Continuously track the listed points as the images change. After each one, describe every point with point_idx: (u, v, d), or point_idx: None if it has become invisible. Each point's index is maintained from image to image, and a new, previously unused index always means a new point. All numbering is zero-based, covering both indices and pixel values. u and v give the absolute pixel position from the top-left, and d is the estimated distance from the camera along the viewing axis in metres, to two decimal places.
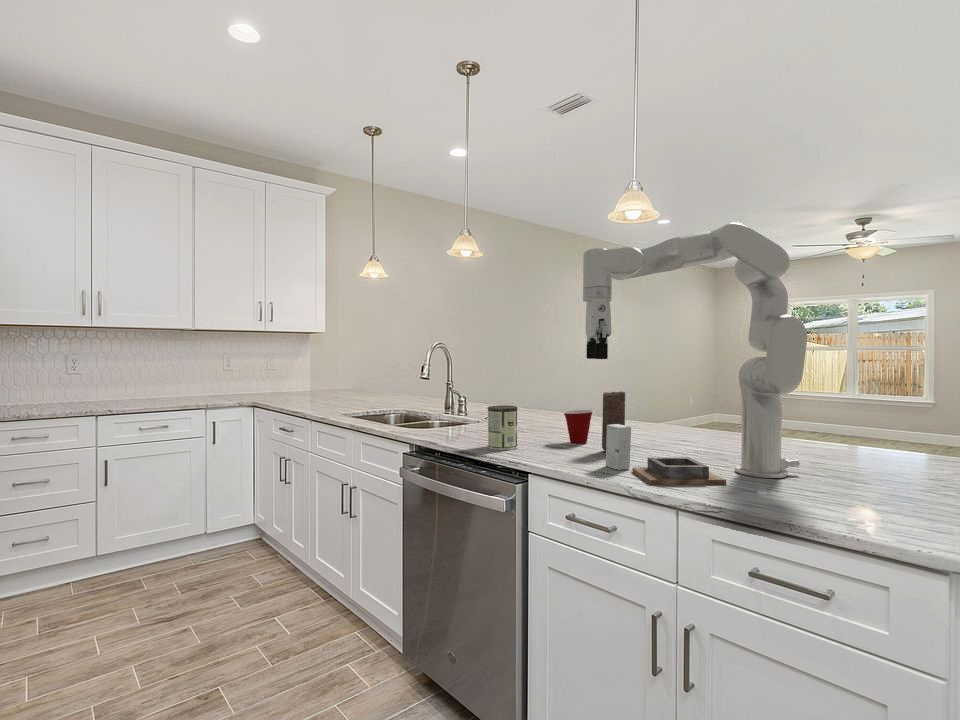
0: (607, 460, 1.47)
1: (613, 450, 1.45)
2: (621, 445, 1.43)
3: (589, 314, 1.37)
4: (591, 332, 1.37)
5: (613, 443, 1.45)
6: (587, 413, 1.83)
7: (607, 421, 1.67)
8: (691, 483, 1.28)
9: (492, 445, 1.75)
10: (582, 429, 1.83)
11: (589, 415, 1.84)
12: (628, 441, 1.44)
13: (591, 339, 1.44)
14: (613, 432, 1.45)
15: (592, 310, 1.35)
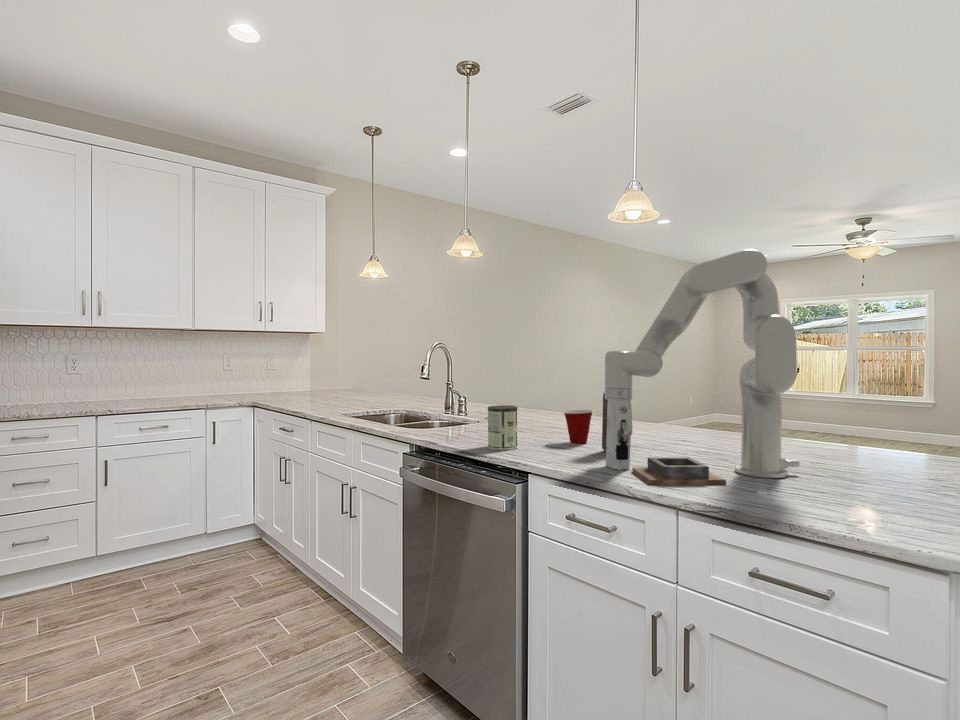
0: (607, 460, 1.47)
1: (613, 450, 1.45)
2: None
3: (611, 413, 1.45)
4: (613, 430, 1.44)
5: (613, 443, 1.45)
6: (587, 413, 1.83)
7: None
8: (691, 483, 1.28)
9: (492, 445, 1.75)
10: (582, 429, 1.83)
11: (589, 415, 1.84)
12: (628, 441, 1.44)
13: None
14: None
15: (614, 411, 1.42)
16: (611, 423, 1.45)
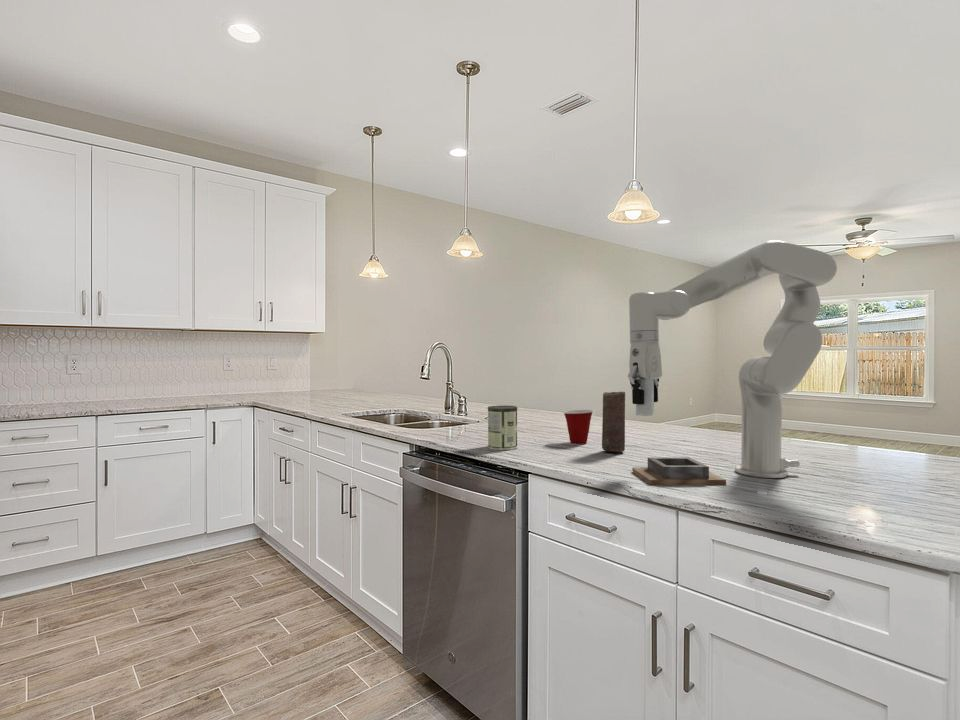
0: None
1: None
2: None
3: None
4: None
5: None
6: (587, 413, 1.83)
7: (607, 421, 1.67)
8: (691, 483, 1.28)
9: (492, 445, 1.75)
10: (582, 429, 1.83)
11: (589, 415, 1.84)
12: (648, 386, 1.38)
13: None
14: None
15: None
16: None
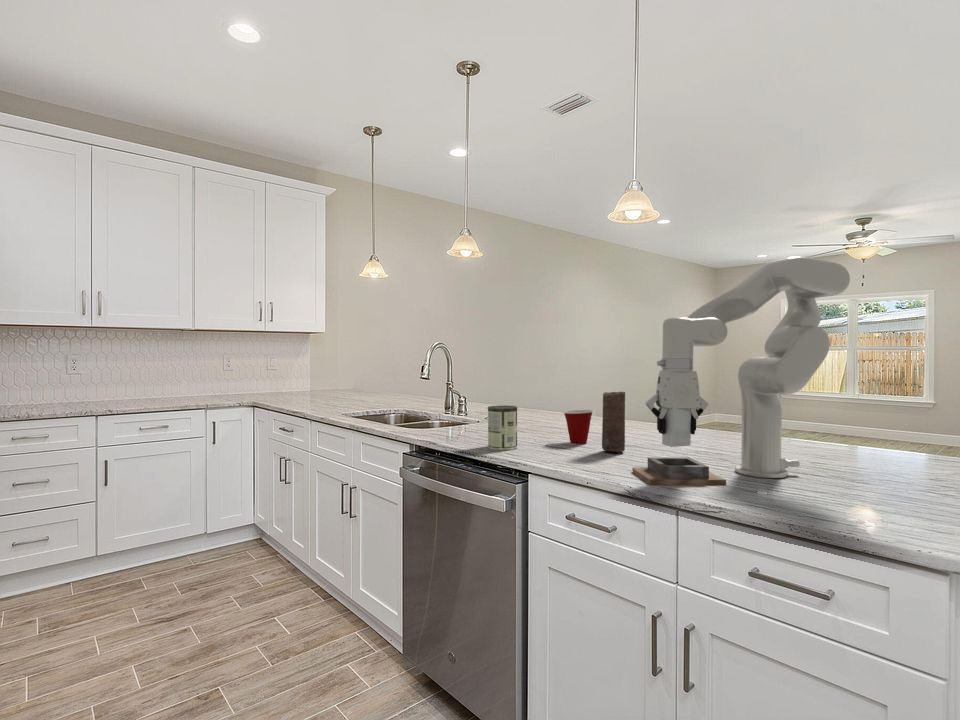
0: None
1: None
2: (665, 418, 1.34)
3: None
4: None
5: None
6: (587, 413, 1.83)
7: (607, 421, 1.67)
8: (691, 483, 1.28)
9: (492, 445, 1.75)
10: (582, 429, 1.83)
11: (589, 415, 1.84)
12: (671, 416, 1.32)
13: None
14: None
15: None
16: None
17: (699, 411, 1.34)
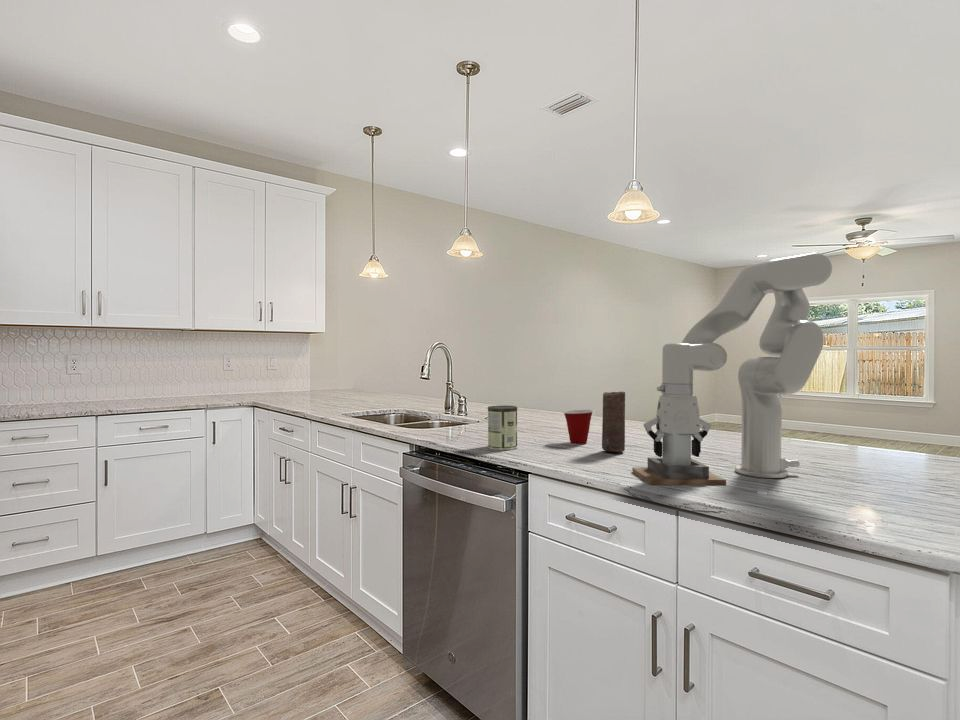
0: None
1: None
2: (665, 446, 1.34)
3: None
4: None
5: None
6: (587, 413, 1.83)
7: (607, 421, 1.67)
8: (691, 483, 1.28)
9: (492, 445, 1.75)
10: (582, 429, 1.83)
11: (589, 415, 1.84)
12: (671, 444, 1.32)
13: None
14: None
15: None
16: None
17: (703, 433, 1.34)
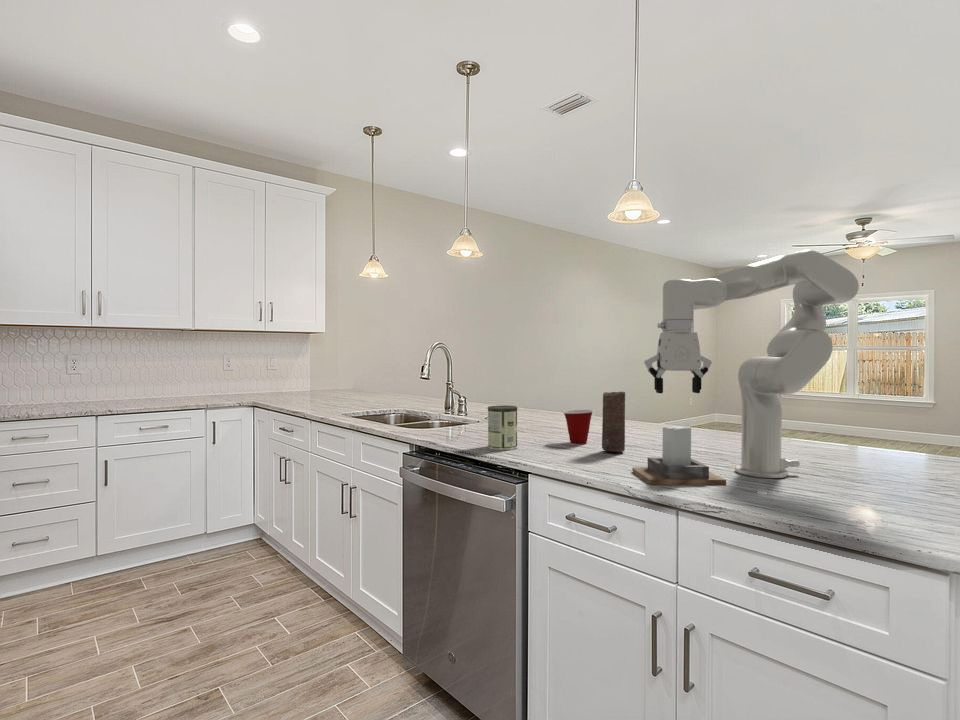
0: None
1: None
2: (665, 446, 1.34)
3: None
4: None
5: None
6: (587, 413, 1.83)
7: (607, 421, 1.67)
8: (691, 483, 1.28)
9: (492, 445, 1.75)
10: (582, 429, 1.83)
11: (589, 415, 1.84)
12: (671, 444, 1.32)
13: None
14: None
15: None
16: None
17: (704, 370, 1.34)
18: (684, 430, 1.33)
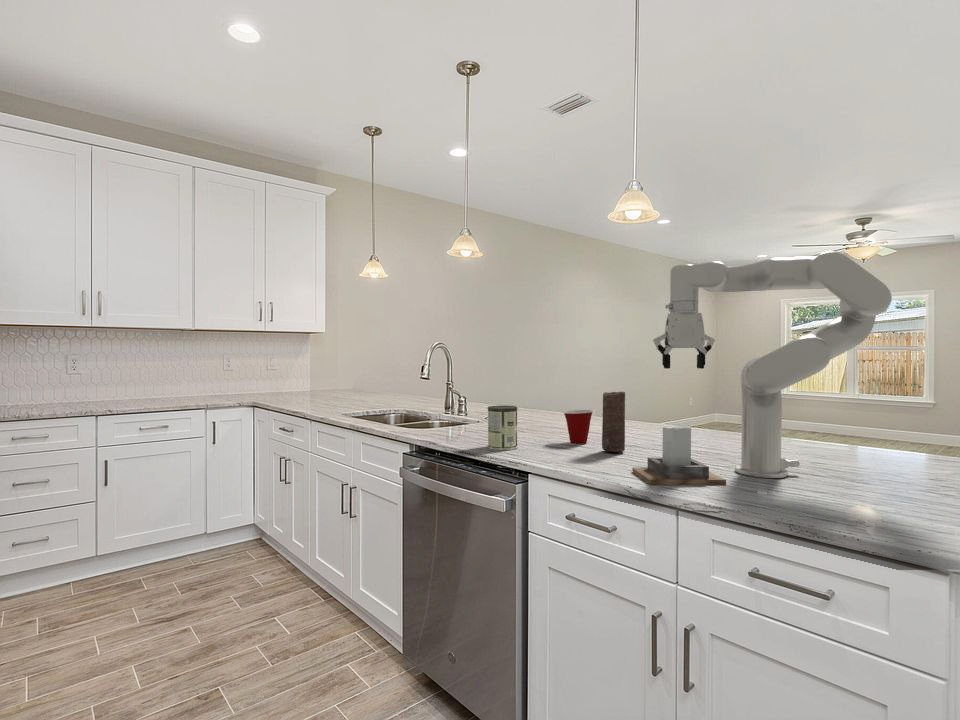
0: None
1: None
2: (665, 446, 1.34)
3: None
4: None
5: None
6: (587, 413, 1.83)
7: (607, 421, 1.67)
8: (691, 483, 1.28)
9: (492, 445, 1.75)
10: (582, 429, 1.83)
11: (589, 415, 1.84)
12: (671, 444, 1.32)
13: None
14: None
15: None
16: None
17: (708, 347, 1.47)
18: (684, 430, 1.33)
